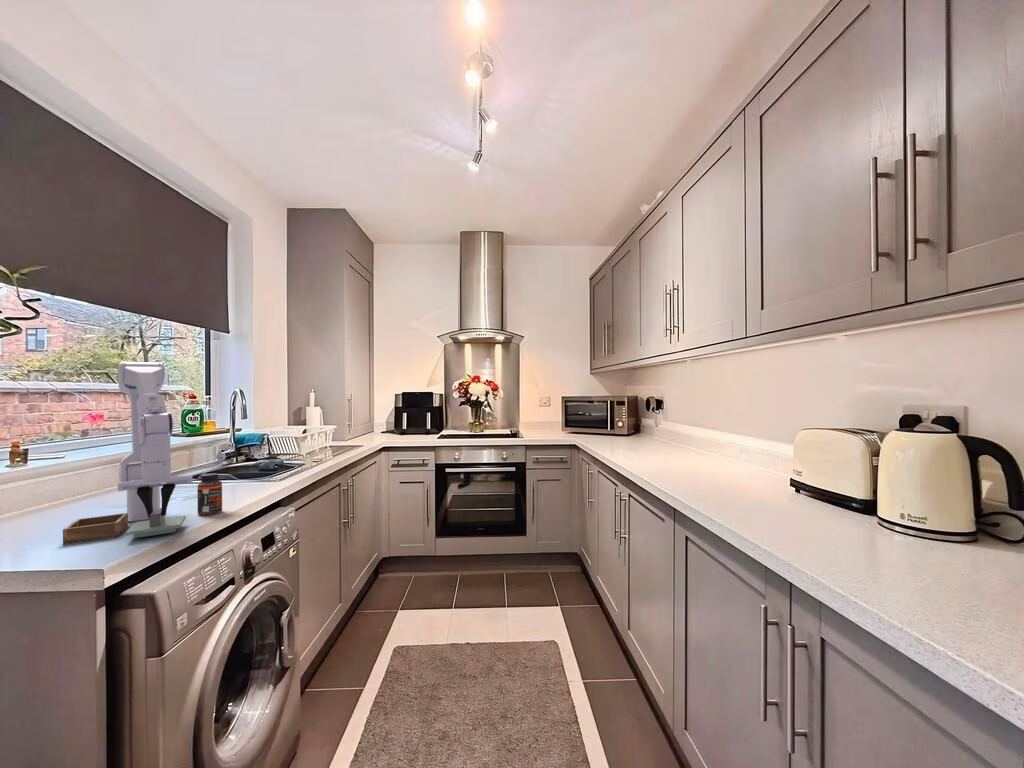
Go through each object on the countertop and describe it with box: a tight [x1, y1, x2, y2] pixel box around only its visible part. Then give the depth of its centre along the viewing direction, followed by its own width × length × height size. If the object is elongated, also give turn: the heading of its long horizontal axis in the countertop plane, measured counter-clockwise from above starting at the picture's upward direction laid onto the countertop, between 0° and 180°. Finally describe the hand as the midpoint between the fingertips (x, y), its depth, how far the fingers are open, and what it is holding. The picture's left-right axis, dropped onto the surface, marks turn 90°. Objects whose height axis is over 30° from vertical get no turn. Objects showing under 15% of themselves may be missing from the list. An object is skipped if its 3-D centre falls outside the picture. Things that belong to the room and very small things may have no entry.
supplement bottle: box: [197, 472, 223, 516], centre depth 130 cm, size 6×6×11 cm
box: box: [62, 512, 129, 545], centre depth 112 cm, size 10×10×4 cm
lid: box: [125, 507, 187, 539], centre depth 112 cm, size 10×10×5 cm
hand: (157, 515), depth 112 cm, fingers closed on lid
